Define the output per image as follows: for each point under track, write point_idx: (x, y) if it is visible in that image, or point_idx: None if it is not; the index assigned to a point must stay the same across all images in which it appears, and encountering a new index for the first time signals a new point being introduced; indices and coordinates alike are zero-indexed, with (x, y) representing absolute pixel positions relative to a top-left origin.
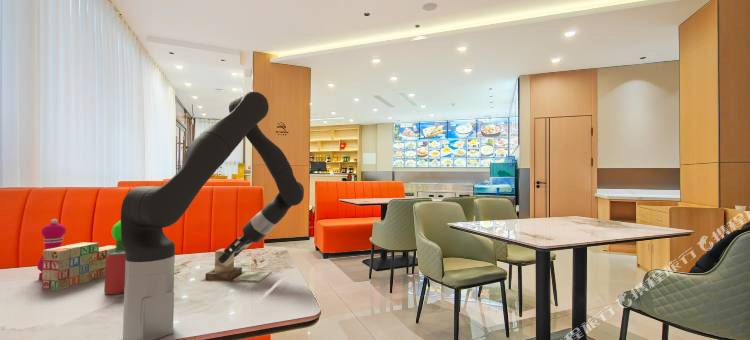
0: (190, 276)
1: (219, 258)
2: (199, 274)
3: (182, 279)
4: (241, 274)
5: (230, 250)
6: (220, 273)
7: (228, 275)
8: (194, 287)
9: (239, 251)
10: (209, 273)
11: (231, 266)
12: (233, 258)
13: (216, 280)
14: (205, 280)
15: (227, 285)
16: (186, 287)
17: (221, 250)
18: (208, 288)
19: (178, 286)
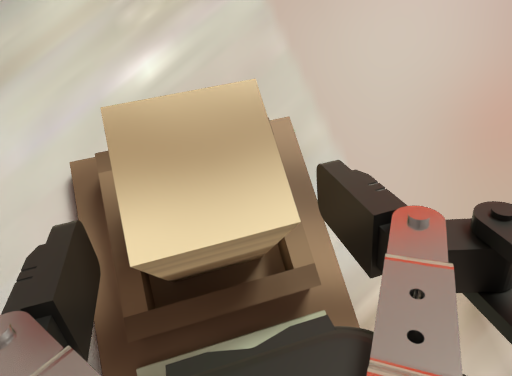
0: (184, 25)
1: (54, 235)
2: (230, 41)
3: (127, 25)
4: (261, 331)
5: (203, 245)
6: (123, 253)
7: (127, 326)
8: (15, 183)
9: (355, 250)
10: (101, 178)
11: (231, 259)
12: (268, 244)
13: (106, 251)
14: (89, 183)
15: (98, 353)
16: (5, 141)
17: (165, 141)
18: (14, 278)
19: (13, 90)
